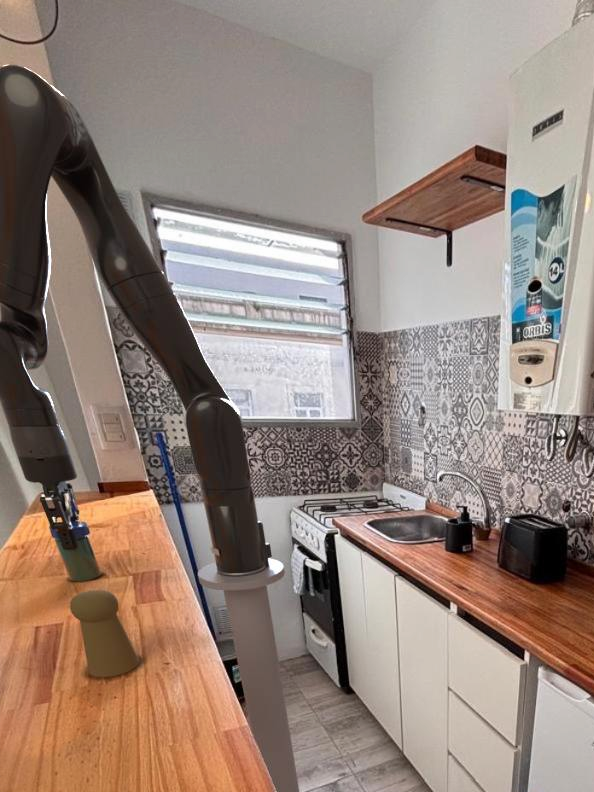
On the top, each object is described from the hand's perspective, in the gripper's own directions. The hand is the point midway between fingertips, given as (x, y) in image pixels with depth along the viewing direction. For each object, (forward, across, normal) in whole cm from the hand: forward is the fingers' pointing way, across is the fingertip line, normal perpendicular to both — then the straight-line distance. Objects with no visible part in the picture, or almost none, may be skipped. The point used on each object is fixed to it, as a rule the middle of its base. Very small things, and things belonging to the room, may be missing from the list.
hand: (74, 544), depth 99 cm
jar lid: (-3, 0, 0) cm, 3 cm away
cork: (+7, +42, +9) cm, 43 cm away
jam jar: (+7, -1, 0) cm, 7 cm away
